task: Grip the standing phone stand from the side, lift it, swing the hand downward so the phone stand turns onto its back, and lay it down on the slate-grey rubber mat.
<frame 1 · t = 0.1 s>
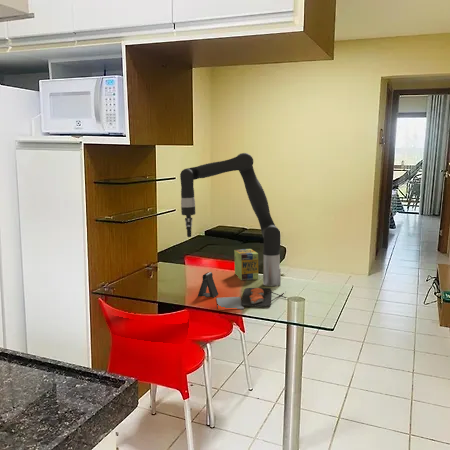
hand: (189, 235, 249), 29 cm above the table, tool pointing down, fingers open, 8 cm apart
sushi plate: (272, 300, 231), on the table
protein box: (246, 277, 274), on the table
phone stand: (208, 295, 239), on the table
mat: (229, 303, 225), on the table
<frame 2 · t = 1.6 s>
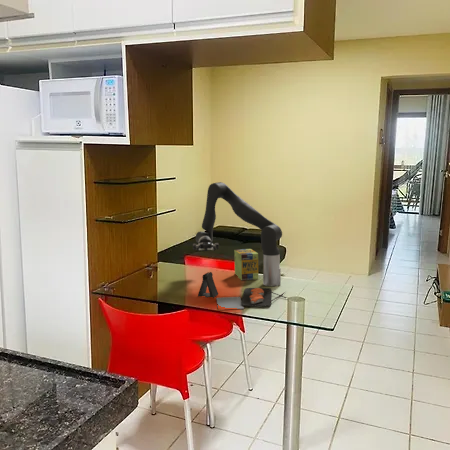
hand: (206, 249, 248), 22 cm above the table, tool horizontal, fingers open, 8 cm apart
nothing on the table moved.
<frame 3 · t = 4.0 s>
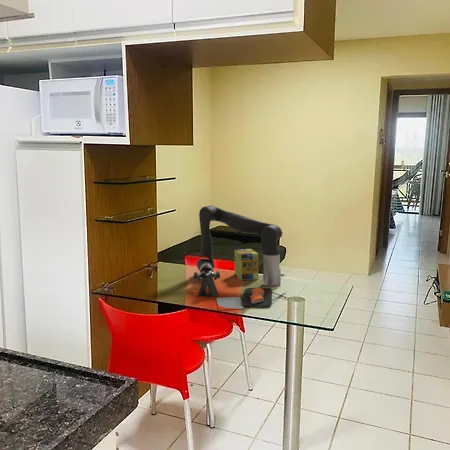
hand: (207, 278, 247), 7 cm above the table, tool horizontal, fingers open, 8 cm apart
nothing on the table moved.
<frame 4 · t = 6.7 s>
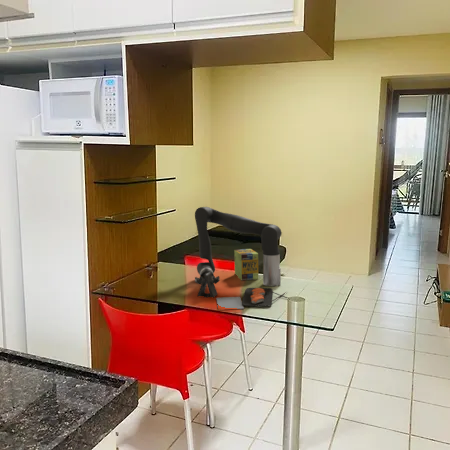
hand: (207, 284, 236), 7 cm above the table, tool horizontal, fingers closed on phone stand, 3 cm apart
phone stand: (207, 295, 239), on the table, touching gripper
everything else where it was.
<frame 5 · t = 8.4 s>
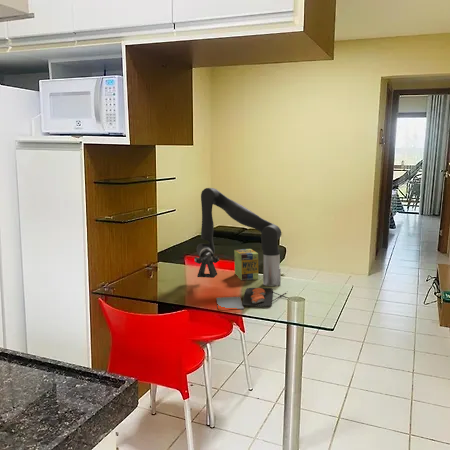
hand: (207, 263, 235), 18 cm above the table, tool horizontal, fingers closed on phone stand, 3 cm apart
phone stand: (207, 276, 237), point 10 cm above the table, touching gripper
everything else where it was.
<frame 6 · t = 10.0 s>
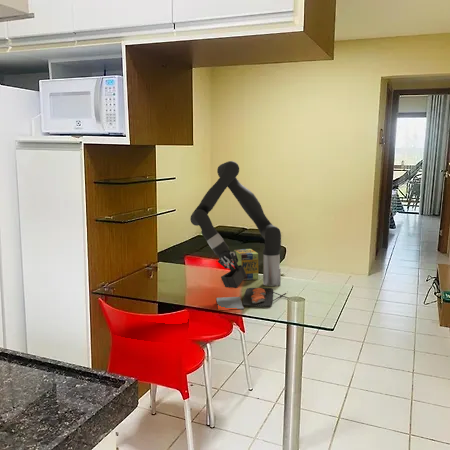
hand: (237, 272, 232), 13 cm above the table, tool tilted 35°, fingers open, 3 cm apart
phone stand: (228, 282, 228), point 9 cm above the table
everything else where it was.
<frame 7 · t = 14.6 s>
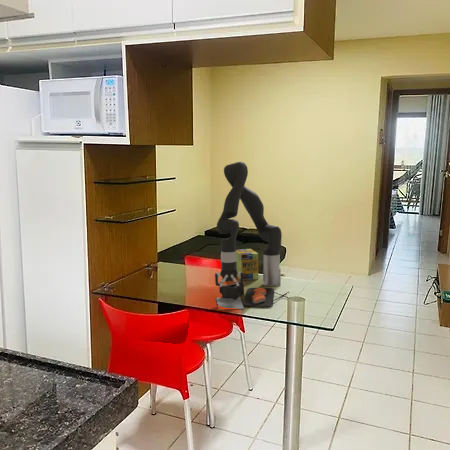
hand: (229, 293, 224), 5 cm above the table, tool pointing down, fingers open, 7 cm apart
phone stand: (228, 292, 230), point 4 cm above the table, touching mat
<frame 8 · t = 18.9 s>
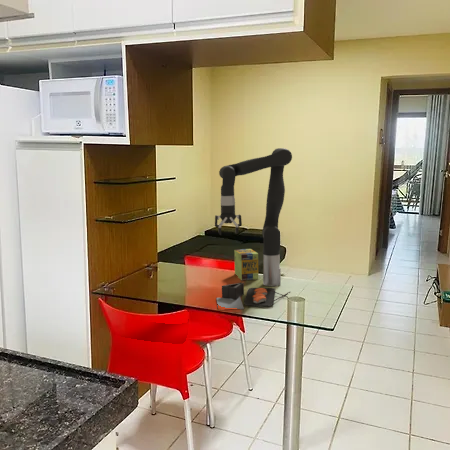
hand: (228, 234, 245), 30 cm above the table, tool pointing down, fingers open, 8 cm apart
at the end: phone stand tilted 93°; phone stand inside the target area on the mat (6.3 cm from its centre), point 3.7 cm above the mat's base; the gripper is holding nothing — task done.
